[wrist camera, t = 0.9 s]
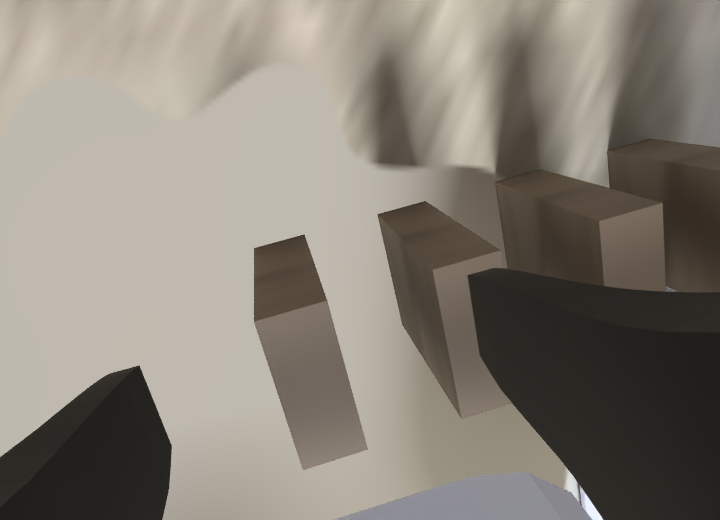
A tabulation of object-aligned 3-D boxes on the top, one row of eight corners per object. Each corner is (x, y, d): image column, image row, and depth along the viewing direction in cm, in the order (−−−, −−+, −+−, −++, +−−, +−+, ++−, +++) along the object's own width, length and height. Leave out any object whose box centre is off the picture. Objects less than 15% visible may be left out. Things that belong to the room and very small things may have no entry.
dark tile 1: (655, 249, 24) (804, 308, 18) (615, 261, 24) (751, 326, 17) (650, 139, 22) (814, 159, 16) (607, 151, 22) (754, 176, 16)
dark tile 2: (553, 279, 24) (668, 352, 17) (511, 292, 23) (610, 370, 17) (540, 169, 22) (662, 202, 15) (495, 181, 22) (599, 221, 15)
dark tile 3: (446, 311, 23) (522, 399, 17) (402, 324, 23) (461, 419, 16) (425, 201, 21) (500, 250, 15) (377, 214, 21) (432, 270, 15)
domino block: (334, 344, 23) (368, 449, 16) (288, 358, 22) (303, 469, 16) (304, 234, 21) (326, 300, 14) (254, 248, 21) (253, 321, 14)
